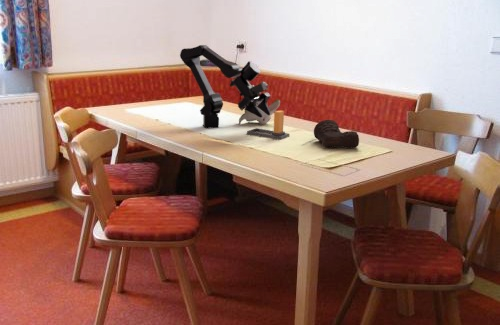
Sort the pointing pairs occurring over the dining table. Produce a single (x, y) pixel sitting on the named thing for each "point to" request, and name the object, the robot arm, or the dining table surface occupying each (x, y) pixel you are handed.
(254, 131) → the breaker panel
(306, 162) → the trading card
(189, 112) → the dining table surface
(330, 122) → the dark brown bent piece
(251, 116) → the toy
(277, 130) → the breaker toggle
